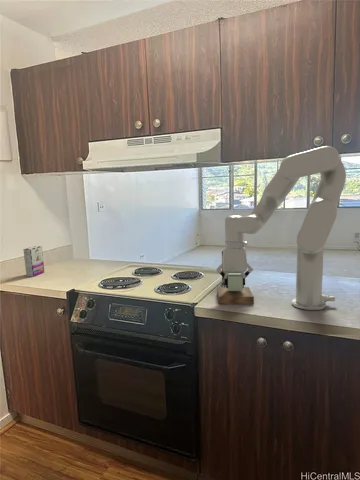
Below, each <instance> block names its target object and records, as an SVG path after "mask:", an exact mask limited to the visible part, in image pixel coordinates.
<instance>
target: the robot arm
mask: <svg viewBox="0 0 360 480" xmlns="http://www.w3.org/2000/svg"><path fill="white" fill-rule="evenodd" d="M346 171H347V170H346V167H345V165H344V163H343V162H342V160H341V157H340V154H339V151H338V150H337V148H335V147H334V146H329V145H325V146H324V145H323V146H320V147H316V148H313V149H310V150H306V151H302V152H299V153H294V154H291V155H288V156H286V157H285V158H283V159H282V160H281V161H280V164H279V167H278V169H277V171H276V172H275V174H273V177H272V178H271V180H270V181H269V182H268V184H267V185H266V186H265V188H264V190H263V192H262V195H261V198H260V199H259V201H258V203H257V205H256V206H255V207H254V209H252V212H251V213H250V214H249V215H245V216H242V215H240V214H239V215H238V214H237V215H235V214H234V215H233V214H232V215H227V216H226V217H225V219H224V233H225V234H224V239H225V242H224V243H225V244H224V245H225V246H224V247H223V250H222V251H223V256H222V255H221V264H220V265H219V266H218V267H217V268H216V272H217V273H218V274H219V275H220V276H221V277H222V276H223V277H224V283H223V284H224V286H225V287H226V288H228V278H227V276H228V273H229V272H241V274H242V276H243V288H244V287H245V286H246V278H248V276H249V275H250V274H251V273H252V272H253V271H254V269H253V267H252V266H251V265H250V264H249V263H248V259H247V258H248V257H247V251H246V247H245V246H247V245H248V242H247V241H244V234H248V235H255V234H257V233H259V232H260V231H261V230H262V229H263V228H264V226H265V225H266V224H267V222H268V221H269V220H270V218H271V217H272V216H273V214H274V213H275V211H277V209H278V208H279V207H280V205H282V204H283V202H284V200H285V199H286V197H287V196H288V195H289V194H290V192H291V191H292V190H293V188H294V187H295V185H296V184H297V183H298V181H299V180H300V178H304V177H307V176H312V175H317V174H320V178H319V179H320V180H319V183H318V184H317V187H316V191H315V194H314V196H313V199H312V201H311V203H310V204H309V206H308V208H307V212H306V214H305V215H304V216H305V217H304V219H303V221H302V224H301V227H300V230H299V231H298V232H297V234H296V272H295V273H296V275H295V277H296V278H295V282H296V283H295V285H296V286H295V298H293V299H292V300H291V305H293V307H295V308H297V309H300V310H305V311H306V310H307V311H321V310H323V309H325V308H326V307H327V302H335V300H336V297H335V296H330V295H329V294H326V295H325V294H324V293H323V276H324V275H323V274H324V246H325V245H326V243H327V240H328V238H329V235H330V233H331V231H332V229H333V226H334V224H335V221H336V219H337V215H338V209H337V206H338V203H339V200H340V198H341V196H342V193H343V190H344V188H345V184H346V180H347V172H346ZM222 269H223V271H224V272H225V273H223V272H222Z"/></svg>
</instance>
